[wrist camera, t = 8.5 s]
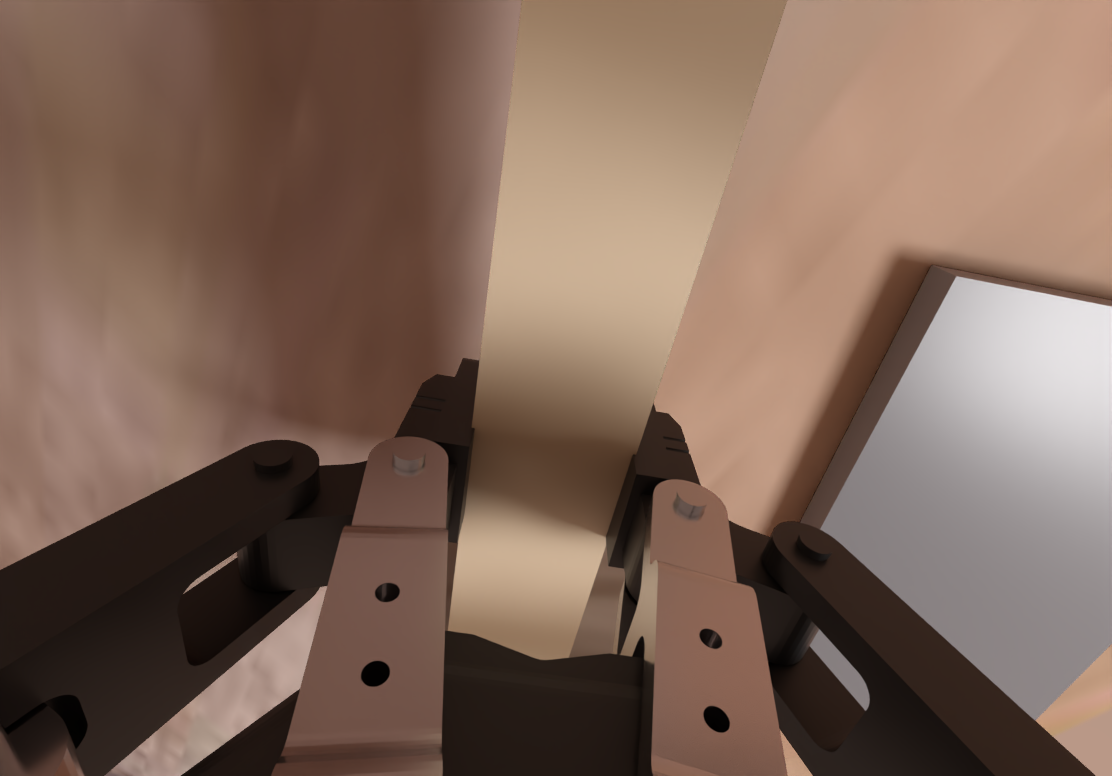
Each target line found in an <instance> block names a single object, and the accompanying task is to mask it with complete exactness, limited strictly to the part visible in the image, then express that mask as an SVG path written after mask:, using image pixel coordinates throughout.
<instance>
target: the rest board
mask: <svg viewBox="0 0 1112 776" xmlns="http://www.w3.org/2000/svg"><path fill="white" fill-rule="evenodd" d="M800 523H804V524H808V525H810V526H813V527H816V528H818V529H820V530H822V531H824V532H825V533H827V534H829V535H830V536H832V537H833V538H834V539H836V540H837V541H838V542H839V543H840V544H842V545H843V546H844V547H845V548H846V549H847V550H848V551H849V552H850V553H851V554H853V555H854V556H855V557H856V558H857V559H858V560H859V561H860V562H861V563H862V564H864V565H865V566H866V567H867V568H868V569H869V570H870V571H871V572H872V573H873V574H874V575H876V576H877V577H878V578H879V579H880V580H881V581H882V582H883V583H884V584H885V585H887V586H888V587H889V588H890V589H891V590H892V591H893V592H894V593H895V594H896V595H898V596H899V597H900V598H901V599H902V600H903V601H904V602H905V603H906V604H907V605H909V606H910V607H911V608H912V609H913V610H914V611H915V612H916V613H917V614H918V615H920V616H921V617H922V618H923V619H924V620H925V621H926V622H927V623H928V624H929V625H931V626H932V627H933V628H934V629H935V630H936V631H937V632H938V633H939V634H940V635H942V636H943V637H944V638H945V639H946V640H947V641H948V642H949V643H950V644H951V645H952V646H954V647H955V648H956V649H957V650H958V651H959V652H960V653H961V654H962V655H963V656H965V657H966V658H967V659H968V660H969V661H970V662H971V663H972V664H973V665H974V666H976V667H977V668H978V669H979V670H980V671H981V672H982V673H983V674H984V675H985V676H987V677H988V678H989V679H990V680H991V681H992V682H993V683H994V684H995V685H996V686H998V687H999V688H1000V689H1001V690H1002V691H1003V692H1004V693H1005V694H1006V695H1007V696H1009V697H1010V698H1011V699H1012V700H1013V701H1014V702H1015V703H1016V704H1017V705H1018V706H1019V707H1021V708H1022V709H1023V710H1024V711H1025V712H1026V713H1027V714H1028V715H1029V716H1030V717H1032V718H1033V719H1034V720H1036V719H1037V718H1038V717H1039V716H1040V715H1041V714H1042V713H1043V712H1044V711H1045V710H1046V709H1047V708H1048V707H1049V706H1050V705H1051V704H1052V703H1053V702H1054V701H1055V700H1056V699H1057V698H1058V697H1059V696H1060V695H1061V694H1062V693H1063V692H1064V691H1065V690H1066V689H1067V688H1068V687H1069V686H1070V685H1071V684H1072V683H1073V682H1074V681H1075V680H1076V679H1077V678H1078V677H1079V676H1080V675H1081V674H1082V673H1083V672H1084V671H1085V670H1086V669H1087V668H1088V667H1089V666H1090V665H1091V664H1092V663H1093V662H1094V661H1095V660H1096V659H1097V658H1098V657H1099V656H1100V655H1101V654H1102V653H1103V652H1104V651H1105V650H1106V649H1107V648H1108V647H1109V646H1110V645H1111V644H1112V300H1108V299H1103V298H1098V297H1093V296H1088V295H1082V294H1077V293H1072V292H1067V291H1062V290H1057V289H1052V288H1047V287H1042V286H1037V285H1032V284H1027V283H1021V282H1016V281H1011V280H1006V279H1001V278H996V277H991V276H986V275H981V274H976V273H971V272H966V271H960V270H955V269H950V268H945V267H940V266H935V265H931V267H930V269H929V271H928V273H927V275H926V277H925V279H924V281H923V283H922V285H921V287H920V289H919V291H918V293H917V295H916V297H915V299H914V301H913V303H912V304H911V306H910V308H909V310H908V312H907V314H906V316H905V318H904V320H903V322H902V324H901V326H900V328H899V330H898V332H897V334H896V336H895V338H894V340H893V342H892V344H891V345H890V347H889V349H888V351H887V353H886V355H885V357H884V359H883V361H882V363H881V365H880V367H879V369H878V371H877V373H876V375H875V377H874V379H873V381H872V383H871V385H870V386H869V388H868V390H867V392H866V394H865V396H864V398H863V400H862V402H861V404H860V406H859V408H858V410H857V412H856V414H855V416H854V418H853V420H852V422H851V424H850V425H849V427H848V429H847V431H846V433H845V435H844V437H843V439H842V441H841V443H840V445H839V447H838V449H837V451H836V453H835V455H834V457H833V459H832V461H831V463H830V465H829V466H828V468H827V470H826V472H825V474H824V476H823V478H822V480H821V482H820V484H819V486H818V488H817V490H816V492H815V494H814V496H813V498H812V500H811V502H810V504H809V506H808V507H807V509H806V511H805V513H804V515H803V517H802V519H801V521H800ZM810 647H811V648H812V649H813V650H814V652H815V653H816V654H817V655H818V656H819V657H820V658H821V660H822V661H823V662H824V663H825V664H826V665H827V667H828V668H829V669H830V670H831V671H832V672H833V674H834V675H835V676H836V677H837V678H838V679H839V681H840V682H841V683H842V684H843V685H844V686H845V688H846V689H847V690H848V691H849V692H850V693H851V695H852V696H853V697H854V698H855V699H856V700H857V701H858V703H859V704H860V705H861V706H862V707H863V708H864V710H865V711H866V710H867V709H868V707H869V701H870V698H869V692H868V689H867V686H866V684H865V682H864V680H863V678H862V677H861V675H860V674H859V673H858V672H857V670H856V669H855V668H854V667H853V666H852V665H851V664H850V663H849V662H848V660H847V659H846V658H845V657H844V656H843V655H842V654H841V653H840V652H839V650H838V649H837V648H836V647H835V646H834V645H833V644H832V643H831V642H830V640H829V639H828V638H827V637H826V636H825V635H824V634H823V633H822V632H821V631H820V629H819V631H818V633H817V634H816V636H815V638H814V639H813V641H812V643H811V644H810Z"/></svg>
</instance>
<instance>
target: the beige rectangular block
mask: <svg viewBox="0 0 1112 776" xmlns="http://www.w3.org/2000/svg"><path fill="white" fill-rule="evenodd" d="M786 3H787V0H522V3H521V11H520V20H519V29H518V37H517V46H516V54H515V63H514V71H513V80H512V88H511V97H510V105H509V114H508V122H507V131H506V139H505V148H504V156H503V165H502V173H501V182H500V190H499V199H498V207H497V216H496V225H495V233H494V242H493V250H492V259H491V267H490V276H489V284H488V293H487V301H486V310H485V318H484V327H483V335H482V344H481V352H480V361H479V369H478V378H477V386H476V395H475V403H474V412H473V421H472V428H475V432H474V440H473V448H472V456H471V464H470V473H469V481H468V489H467V497H466V506H465V514H464V519H463V523H462V527H461V531H460V534H459V538H458V542H457V543H452V542H448V552H447V584H446V616H445V630H446V631H453V632H460V633H467V634H474V635H476V636H479V637H482V638H484V639H487V640H489V641H492V642H494V643H497V644H500V645H502V646H505V647H507V648H510V649H512V650H515V651H518V652H520V653H523V654H525V655H528V656H530V657H533V658H536V659H540V660H552V659H561V658H570V657H580V656H589V655H598V654H608V653H611V654H612V653H613V645H614V636H615V627H616V619H617V610H618V602H619V595H620V591H621V588H622V585H623V582H624V579H625V572H624V569H623V568H616V567H609V566H608V559H607V547H606V535H607V532H608V529H609V526H610V522H611V519H612V516H613V513H614V510H615V507H616V504H617V501H618V498H619V495H620V492H621V489H622V486H623V483H624V480H625V477H626V474H627V471H628V468H629V465H630V462H631V458H632V455H633V454H635V455H636V454H637V451H638V448H639V445H640V442H641V439H642V436H643V433H644V430H645V427H646V424H647V421H648V418H649V415H650V412H651V409H652V406H653V403H654V400H655V397H656V394H657V391H658V388H659V385H660V382H661V379H662V376H663V373H664V370H665V367H666V364H667V361H668V358H669V355H670V352H671V349H672V346H673V343H674V340H675V337H676V334H677V331H678V328H679V325H680V322H681V318H682V315H683V312H684V309H685V306H686V303H687V300H688V297H689V294H690V291H691V288H692V285H693V282H694V279H695V276H696V273H697V270H698V267H699V264H700V261H701V258H702V255H703V252H704V249H705V246H706V243H707V240H708V237H709V234H710V231H711V228H712V225H713V222H714V219H715V216H716V213H717V210H718V207H719V204H720V201H721V198H722V195H723V192H724V189H725V186H726V183H727V180H728V177H729V174H730V171H731V168H732V165H733V162H734V159H735V156H736V153H737V150H738V147H739V144H740V141H741V138H742V135H743V132H744V129H745V126H746V123H747V120H748V117H749V114H750V111H751V108H752V105H753V102H754V99H755V96H756V93H757V90H758V87H759V84H760V81H761V78H762V75H763V72H764V69H765V66H766V63H767V60H768V57H769V54H770V51H771V48H772V45H773V42H774V39H775V36H776V33H777V30H778V27H779V24H780V21H781V18H782V15H783V12H784V9H785V6H786Z"/></svg>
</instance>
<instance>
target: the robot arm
mask: <svg viewBox="0 0 1112 776" xmlns="http://www.w3.org/2000/svg"><path fill="white" fill-rule="evenodd" d="M478 369H479V361H478V360H472V359H467V358H463V359H462V362H461V364H460V367H459V369H458V372H457V374H456V376H455V377H450V376H444V375H438V374H437V375H435V376H434V377H432V378H430V379H429V380H427V381H425V382H424V383H422V385H421V387H420V389H419V391H418V393H417V395H416V398H415V399H414V401H413V403H412V405H411V408H410V409H409V410H408V412H407V414H406V416H405V418H404V420H403V422H402V424H401V426H400V428H399V430H398V432H397V434H396V436H395V438H392V439H388V440H386V441H383V442H381V443H379V444H378V445H376V446H375V447H374V448H373V449H372V450H371V452H370V454H369V456H368V461H364V462H360V463H355V464H345V465H325V466H319V457H318V454H317V453H316V451H315V450H313V449H312V448H311V447H309V446H308V445H305V444H303V443H300V442H296V441H290V440H270V441H264V442H259V443H256V444H252V445H250V446H247V447H245V448H243V449H241V450H239V451H237V452H235V453H233V454H231V455H229V456H227V457H225V458H223V459H221V460H219V461H217V462H215V463H213V464H211V465H209V466H207V467H205V468H203V469H201V470H199V471H197V472H195V473H193V474H191V475H189V476H187V477H185V478H183V479H181V480H179V481H177V482H175V483H173V484H171V485H169V486H167V487H165V488H163V489H161V490H159V491H157V492H155V493H153V494H151V495H149V496H147V497H145V498H143V499H141V500H139V501H137V502H135V503H133V504H131V505H129V506H127V507H125V508H123V509H121V510H119V511H117V512H115V513H113V514H111V515H109V516H107V517H105V518H103V519H101V520H99V521H97V522H95V523H93V524H91V525H89V526H87V527H85V528H83V529H81V530H79V531H77V532H75V533H73V534H71V535H69V536H67V537H65V538H63V539H61V540H59V541H57V542H55V543H53V544H51V545H49V546H47V547H45V548H43V549H41V550H39V551H37V552H35V553H33V554H31V555H29V556H27V557H25V558H23V559H21V560H19V561H17V562H15V563H13V564H11V565H9V566H7V567H5V568H3V569H1V570H0V776H104V775H106V774H107V773H108V772H109V771H110V770H111V769H113V768H114V767H115V766H116V765H117V764H118V763H120V762H121V761H122V760H123V759H124V758H125V757H127V756H128V755H129V754H130V753H131V752H132V751H134V750H135V749H136V748H137V747H138V746H139V745H141V744H142V743H143V742H144V741H145V740H146V739H148V738H149V737H150V736H151V735H152V734H153V733H155V732H156V731H157V730H158V729H159V728H160V727H162V726H163V725H164V724H165V723H166V722H167V721H169V720H170V719H171V718H172V717H173V716H174V715H176V714H177V713H178V712H179V711H180V710H181V709H183V708H184V707H185V706H186V705H187V704H188V703H190V702H191V701H192V700H193V699H194V698H195V697H197V696H198V695H199V694H200V693H201V692H202V691H204V690H205V689H206V688H207V687H208V686H209V685H211V684H212V683H213V682H214V681H215V680H216V679H218V678H219V677H220V676H221V675H222V674H223V673H225V672H226V671H227V670H228V669H229V668H231V667H232V666H233V665H234V664H235V663H236V662H238V661H239V660H240V659H241V658H242V657H243V656H245V655H246V654H247V653H248V652H249V651H250V650H252V649H253V648H254V647H255V646H256V645H257V644H259V643H260V642H261V641H262V640H263V639H264V638H266V637H267V636H268V635H269V634H270V633H271V632H273V631H274V630H275V629H276V628H277V627H278V626H280V625H281V624H282V623H283V622H284V621H285V620H287V619H288V618H289V617H290V616H291V615H292V614H294V613H295V612H296V611H297V610H298V609H299V608H301V607H302V606H303V605H304V604H305V603H306V602H308V601H309V600H310V599H311V598H312V597H313V596H314V595H315V594H316V592H317V591H318V590H319V588H320V587H322V586H327V590H326V593H325V597H324V601H323V605H322V608H321V612H320V616H319V620H318V623H317V627H316V631H315V635H314V639H313V642H312V646H311V650H310V654H309V657H308V661H307V665H306V669H305V672H304V676H303V680H302V684H301V687H300V689H299V690H298V691H296V692H295V693H293V694H292V695H291V696H289V697H288V698H287V699H285V700H284V701H283V702H281V703H280V704H278V705H277V706H276V707H274V708H273V709H272V710H270V711H269V712H267V713H266V714H265V715H263V716H262V717H261V718H259V719H258V720H257V721H255V722H254V723H252V724H251V725H250V726H248V727H247V728H246V729H244V730H243V731H241V732H240V733H239V734H237V735H236V736H235V737H233V738H232V739H230V740H229V741H228V742H226V743H225V744H224V745H222V746H221V747H220V748H218V749H217V750H215V751H214V752H213V753H211V754H210V755H209V756H207V757H206V758H204V759H203V760H202V761H200V762H199V763H198V764H196V765H195V766H194V767H192V768H191V769H189V770H188V771H187V772H185V773H184V774H183V775H181V776H788V775H787V769H786V764H785V758H784V752H783V746H782V741H781V735H780V730H781V731H782V733H783V734H784V736H785V737H786V738H787V740H788V741H789V743H790V744H791V745H792V747H793V748H794V750H795V751H796V752H797V754H798V755H799V757H800V758H801V759H802V761H803V762H804V764H805V765H806V766H807V768H808V769H809V771H810V772H811V773H812V775H813V776H1095V775H1094V774H1093V773H1092V772H1091V771H1090V770H1089V769H1088V768H1086V767H1085V766H1084V765H1083V764H1082V763H1081V762H1080V761H1079V760H1078V759H1076V757H1074V756H1073V755H1072V754H1071V753H1070V752H1069V751H1068V750H1067V749H1065V747H1063V746H1062V745H1061V744H1060V743H1059V742H1058V741H1057V740H1056V739H1055V738H1054V737H1052V736H1051V735H1050V734H1049V733H1048V732H1047V731H1046V730H1045V729H1044V728H1043V727H1041V726H1040V725H1039V724H1038V723H1037V722H1036V721H1035V720H1034V719H1033V718H1032V717H1030V716H1029V715H1028V714H1027V713H1026V712H1025V711H1024V710H1023V709H1022V708H1021V707H1019V706H1018V705H1017V704H1016V703H1015V702H1014V701H1013V700H1012V699H1011V698H1010V697H1009V696H1007V695H1006V694H1005V693H1004V692H1003V691H1002V690H1001V689H1000V688H999V687H998V686H996V685H995V684H994V683H993V682H992V681H991V680H990V679H989V678H988V677H987V676H985V675H984V674H983V673H982V672H981V671H980V670H979V669H978V668H977V667H976V666H974V665H973V664H972V663H971V662H970V661H969V660H968V659H967V658H966V657H965V656H963V655H962V654H961V653H960V652H959V651H958V650H957V649H956V648H955V647H954V646H952V645H951V644H950V643H949V642H948V641H947V640H946V639H945V638H944V637H943V636H942V635H940V634H939V633H938V632H937V631H936V630H935V629H934V628H933V627H932V626H931V625H929V624H928V623H927V622H926V621H925V620H924V619H923V618H922V617H921V616H920V615H918V614H917V613H916V612H915V611H914V610H913V609H912V608H911V607H910V606H909V605H907V604H906V603H905V602H904V601H903V600H902V599H901V598H900V597H899V596H898V595H896V594H895V593H894V592H893V591H892V590H891V589H890V588H889V587H888V586H887V585H885V584H884V583H883V582H882V581H881V580H880V579H879V578H878V577H877V576H876V575H874V574H873V573H872V572H871V571H870V570H869V569H868V568H867V567H866V566H865V565H864V564H862V563H861V562H860V561H859V560H858V559H857V558H856V557H855V556H854V555H853V554H851V553H850V552H849V551H848V550H847V549H846V548H845V547H844V546H843V545H842V544H840V543H839V542H838V541H837V540H836V539H834V538H833V537H832V536H830V535H829V534H827V533H825V532H824V531H822V530H820V529H818V528H816V527H813V526H810V525H808V524H804V523H799V522H783V523H780V524H778V525H777V526H776V527H775V528H774V530H773V532H772V534H771V536H770V537H768V536H765V535H762V534H760V533H757V532H754V531H752V530H749V529H746V528H744V527H741V526H739V525H737V524H735V523H733V522H731V521H729V520H728V514H727V510H726V507H725V505H724V504H723V502H722V501H721V500H720V499H719V498H718V497H717V496H716V495H715V494H714V493H713V492H711V491H710V490H708V489H706V488H705V487H703V486H701V485H700V482H699V479H698V476H697V473H696V470H695V467H694V464H693V461H692V458H691V455H690V454H689V449H688V447H687V444H686V443H685V438H684V435H683V432H682V429H681V426H680V425H679V424H678V423H677V422H676V421H675V420H674V419H673V418H672V417H671V416H670V415H669V414H668V413H662V412H656V410H655V406H654V403H653V406H652V409H651V412H650V415H649V418H648V421H647V424H646V427H645V430H644V433H643V436H642V439H641V442H640V445H639V448H638V451H637V454H636V455H635V454H633V455H632V458H631V462H630V465H629V468H628V471H627V474H626V477H625V480H624V483H623V486H622V489H621V492H620V495H619V498H618V501H617V504H616V507H615V510H614V513H613V516H612V519H611V522H610V526H609V529H608V532H607V535H606V547H607V559H608V566H609V567H616V568H623V569H624V572H625V579H624V582H623V585H622V588H621V591H620V595H619V602H618V610H617V619H616V627H615V636H614V645H613V653H612V654H611V653H608V654H598V655H589V656H580V657H570V658H561V659H552V660H540V659H536V658H533V657H530V656H528V655H525V654H523V653H520V652H518V651H515V650H512V649H510V648H507V647H505V646H502V645H500V644H497V643H494V642H492V641H489V640H487V639H484V638H482V637H479V636H476V635H474V634H467V633H460V632H453V631H446V630H445V616H446V584H447V552H448V542H452V543H457V542H458V538H459V534H460V531H461V527H462V523H463V519H464V514H465V506H466V497H467V489H468V481H469V473H470V464H471V456H472V448H473V440H474V432H475V428H472V421H473V412H474V403H475V395H476V386H477V378H478ZM236 552H237V556H238V557H237V558H236V559H234V560H233V561H231V562H230V563H228V564H227V565H226V566H224V567H223V568H221V569H220V570H218V571H217V572H215V573H214V574H212V575H211V576H209V577H208V578H206V579H205V580H203V581H202V582H201V583H199V584H198V585H196V586H195V587H193V588H192V589H190V590H189V591H187V592H186V593H184V592H185V590H186V589H187V588H188V587H189V586H190V584H191V583H192V582H194V581H195V580H196V579H197V578H199V577H200V576H201V575H203V574H204V573H206V572H207V571H209V570H210V569H212V568H213V567H215V566H216V565H218V564H219V563H221V562H222V561H224V560H225V559H227V558H228V557H230V556H231V555H233V554H234V553H236ZM183 593H184V594H183ZM819 629H820V631H821V632H822V633H823V634H824V635H825V636H826V637H827V638H828V639H829V640H830V642H831V643H832V644H833V645H834V646H835V647H836V648H837V649H838V650H839V652H840V653H841V654H842V655H843V656H844V657H845V658H846V659H847V660H848V662H849V663H850V664H851V665H852V666H853V667H854V668H855V669H856V670H857V672H858V673H859V674H860V675H861V677H862V678H863V680H864V682H865V684H866V686H867V689H868V692H869V698H870V701H869V707H868V709H867V710H866V711H865V710H864V708H863V707H862V706H861V705H860V704H859V703H858V701H857V700H856V699H855V698H854V697H853V696H852V695H851V693H850V692H849V691H848V690H847V689H846V688H845V686H844V685H843V684H842V683H841V682H840V681H839V679H838V678H837V677H836V676H835V675H834V674H833V672H832V671H831V670H830V669H829V668H828V667H827V665H826V664H825V663H824V662H823V661H822V660H821V658H820V657H819V656H818V655H817V654H816V653H815V652H814V650H813V649H812V648H811V647H810V644H811V643H812V641H813V639H814V638H815V636H816V634H817V633H818V631H819Z"/></svg>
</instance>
